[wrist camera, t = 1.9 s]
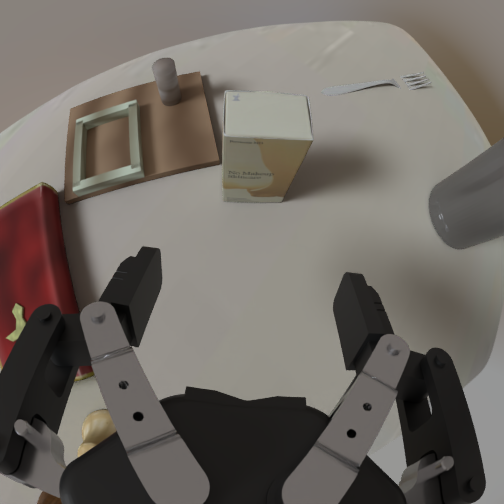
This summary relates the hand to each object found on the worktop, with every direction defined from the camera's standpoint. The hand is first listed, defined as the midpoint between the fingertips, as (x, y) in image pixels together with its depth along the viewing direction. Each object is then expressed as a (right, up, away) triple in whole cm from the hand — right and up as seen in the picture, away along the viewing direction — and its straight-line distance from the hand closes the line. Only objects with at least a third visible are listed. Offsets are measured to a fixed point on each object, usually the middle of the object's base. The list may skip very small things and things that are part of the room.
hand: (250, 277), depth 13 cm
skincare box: (0, +8, +18) cm, 20 cm away
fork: (+18, +25, +23) cm, 38 cm away
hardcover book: (-25, -4, +14) cm, 29 cm away
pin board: (-14, +15, +18) cm, 27 cm away
